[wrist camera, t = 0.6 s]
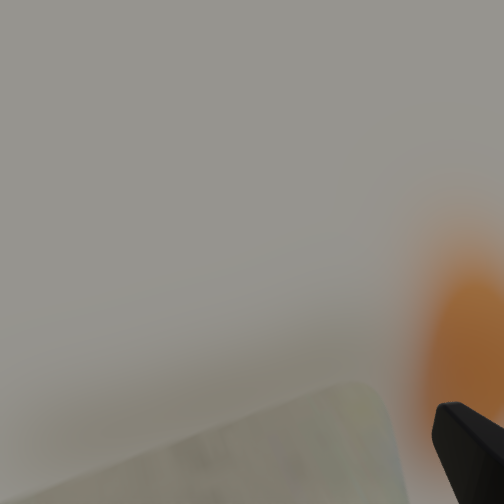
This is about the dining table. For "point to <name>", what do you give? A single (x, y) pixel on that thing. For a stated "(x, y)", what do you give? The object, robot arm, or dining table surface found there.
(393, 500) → the dining table surface
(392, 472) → the dining table surface
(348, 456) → the dining table surface
